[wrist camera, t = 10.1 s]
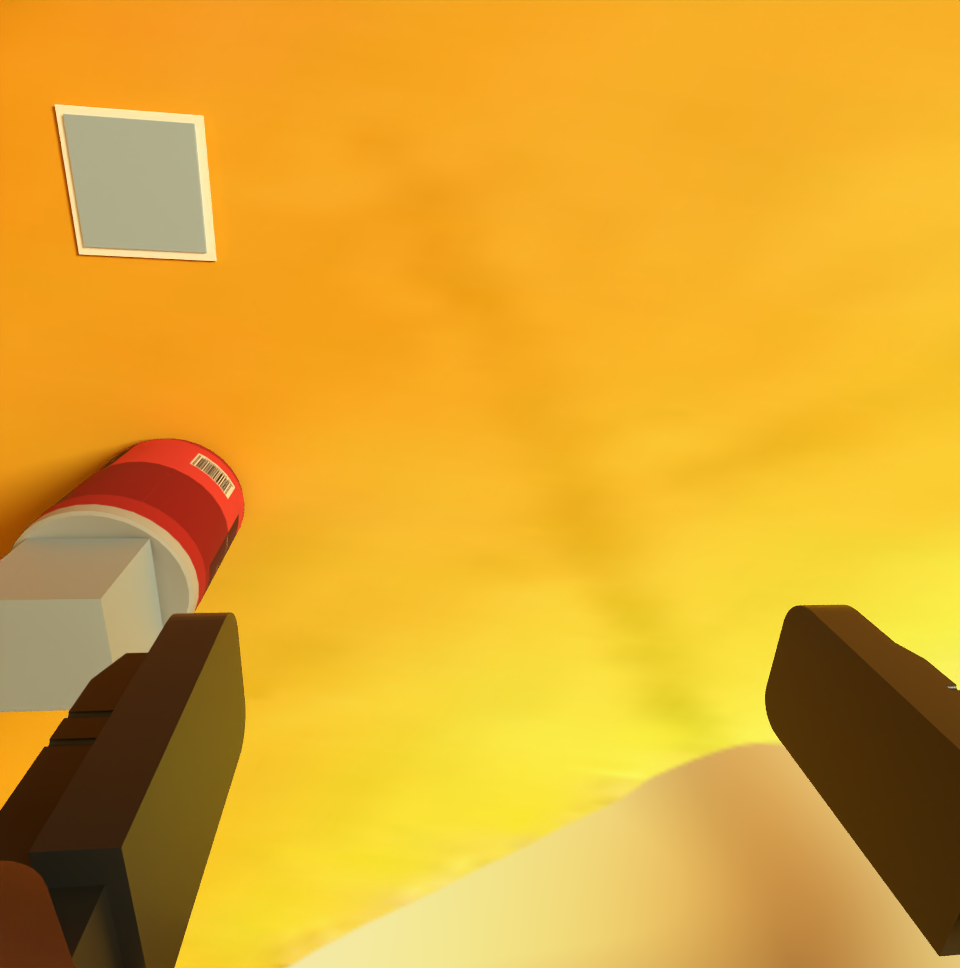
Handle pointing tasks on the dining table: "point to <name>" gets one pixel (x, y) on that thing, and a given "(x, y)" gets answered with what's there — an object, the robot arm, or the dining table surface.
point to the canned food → (158, 514)
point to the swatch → (138, 182)
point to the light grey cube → (71, 616)
